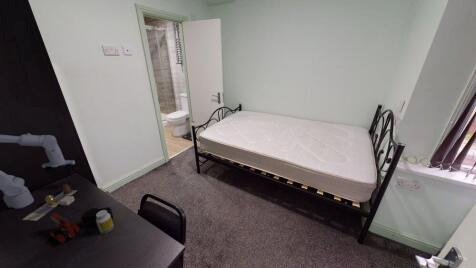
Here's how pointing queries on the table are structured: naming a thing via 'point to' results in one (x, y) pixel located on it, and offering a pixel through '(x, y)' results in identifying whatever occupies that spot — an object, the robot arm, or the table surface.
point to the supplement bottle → (104, 221)
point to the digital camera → (93, 217)
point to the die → (67, 200)
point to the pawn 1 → (50, 200)
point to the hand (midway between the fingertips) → (64, 175)
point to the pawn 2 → (66, 189)
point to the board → (46, 208)
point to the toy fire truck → (63, 228)
